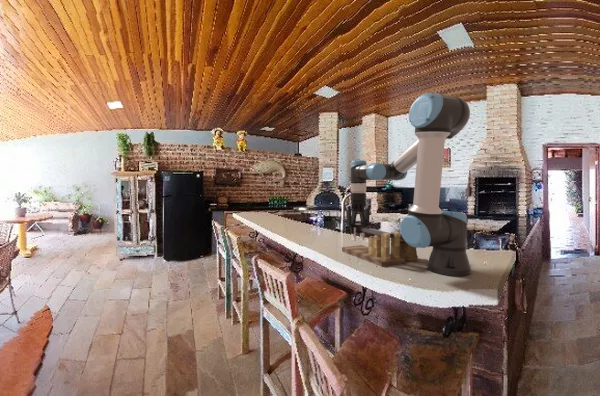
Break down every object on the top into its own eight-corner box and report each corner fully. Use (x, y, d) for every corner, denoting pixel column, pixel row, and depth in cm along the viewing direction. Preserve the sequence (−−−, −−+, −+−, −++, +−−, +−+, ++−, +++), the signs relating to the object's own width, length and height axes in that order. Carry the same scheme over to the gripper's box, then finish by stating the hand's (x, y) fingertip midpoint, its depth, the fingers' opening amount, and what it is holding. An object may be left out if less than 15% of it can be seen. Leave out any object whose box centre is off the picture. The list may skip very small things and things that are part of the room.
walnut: (384, 243, 132) (384, 234, 132) (377, 244, 130) (377, 235, 130) (378, 242, 136) (378, 233, 135) (371, 242, 134) (371, 234, 134)
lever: (396, 240, 126) (396, 230, 125) (387, 240, 124) (388, 231, 124) (358, 231, 150) (358, 223, 149) (351, 231, 148) (351, 223, 148)
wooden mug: (427, 258, 135) (427, 218, 135) (411, 263, 127) (411, 220, 126) (409, 254, 142) (409, 216, 141) (392, 259, 134) (393, 218, 133)
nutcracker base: (404, 263, 127) (405, 232, 126) (381, 266, 122) (382, 234, 121) (361, 248, 154) (362, 223, 153) (341, 251, 149) (342, 225, 148)
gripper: (368, 191, 153) (367, 237, 154) (338, 192, 145) (338, 240, 147) (377, 192, 146) (377, 239, 147) (347, 193, 139) (347, 243, 140)
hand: (357, 239), depth 147 cm, fingers closed on lever, 4 cm apart
